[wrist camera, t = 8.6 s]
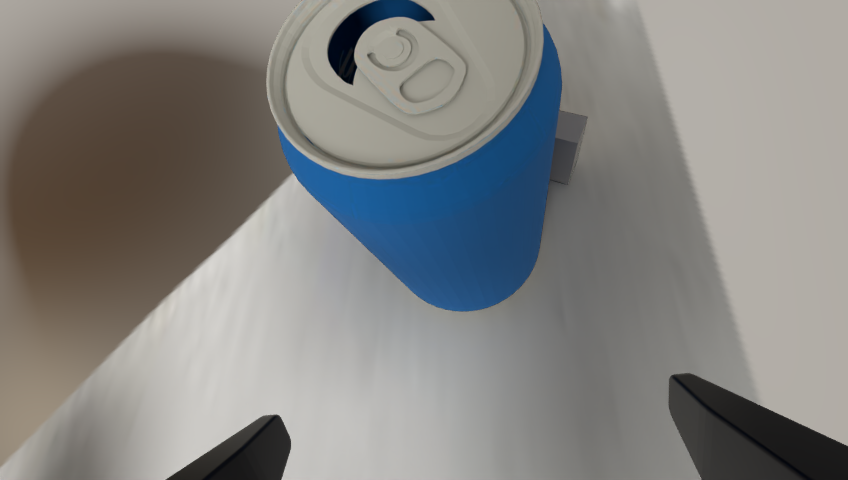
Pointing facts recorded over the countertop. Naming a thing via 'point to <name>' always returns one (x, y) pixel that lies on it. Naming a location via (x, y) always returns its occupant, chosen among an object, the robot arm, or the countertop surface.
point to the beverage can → (424, 134)
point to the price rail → (566, 145)
